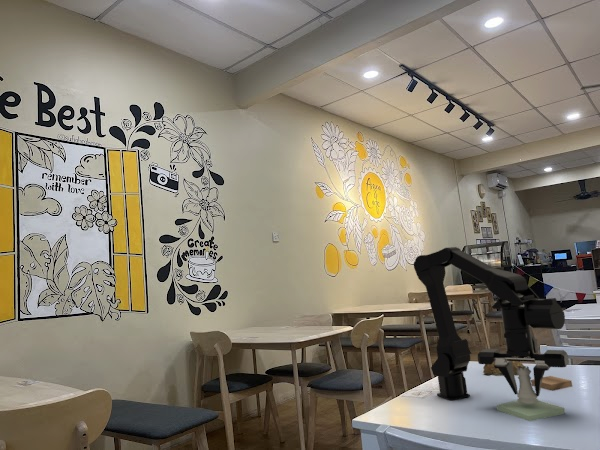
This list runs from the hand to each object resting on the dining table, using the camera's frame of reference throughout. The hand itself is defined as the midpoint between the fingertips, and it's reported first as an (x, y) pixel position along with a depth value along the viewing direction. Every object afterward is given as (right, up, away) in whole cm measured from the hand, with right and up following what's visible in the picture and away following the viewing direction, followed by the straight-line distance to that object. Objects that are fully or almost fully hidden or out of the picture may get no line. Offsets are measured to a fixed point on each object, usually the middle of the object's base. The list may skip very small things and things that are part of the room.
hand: (527, 394), depth 103 cm
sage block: (+1, -5, -1) cm, 5 cm away
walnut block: (+17, -5, +19) cm, 26 cm away
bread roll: (+13, -8, +40) cm, 43 cm away
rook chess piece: (0, -2, 0) cm, 2 cm away
